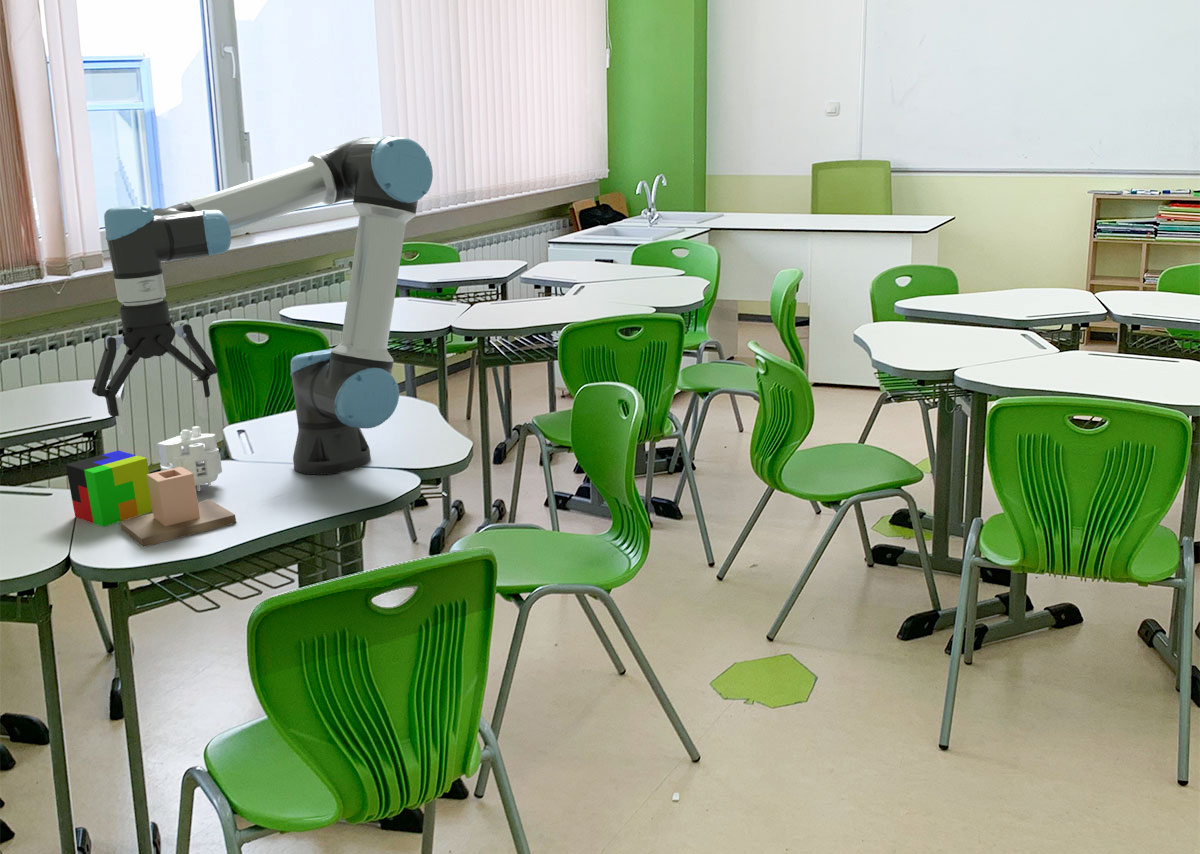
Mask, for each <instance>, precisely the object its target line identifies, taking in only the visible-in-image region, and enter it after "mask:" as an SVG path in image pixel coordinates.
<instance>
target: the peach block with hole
mask: <svg viewBox="0 0 1200 854" xmlns="http://www.w3.org/2000/svg"><path fill="white" fill-rule="evenodd" d="M147 480H148V486H149V492H150V498H151V504H152V510H153V511H152V513H153V516H154V519H156V520H157V521H158V522H160V523H161V524H163V525H164V526H169V525H173V524H177V523H181V522H185V521H189V520H193V519H197V518H200V514H199V507H198V502H199V501H198V495H197V490H196V489H197V488H196V486H195V481H194V475H193V473H191V472H190V471H188V470H186V469H185V468H183V467H177V468H173V469H168V470H164V471H161V470H160V471H156V472H155V471H154V472H152V473H150V472H149V474H147Z"/></svg>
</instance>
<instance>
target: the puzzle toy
mask: <svg viewBox="0 0 1200 854" xmlns="http://www.w3.org/2000/svg"><path fill="white" fill-rule="evenodd" d="M148 462H149V461H148V458H147V457H144V456H140V455H136V454H133V453H129V452H125V451H121V450H115V451H111V452H108V453H103V454H99V455H96V456H92V457H89V458H84V459H80V460H78V461H74V462H70V463H66V464H65V467H66V468H65V469H66V473H67V479H68V486H69V489H70V490H69V491H70V494H71V495H70V497H71V501H72V507H73V512H74V517H75V516H76V517H75V518H77V519H80V520H83V521H86V522H89V523H90V524H91V523H92V524H94V525H96V526H100V527H102V528H103V527H104V528H105V527H109V526H111V525H114V524H116V523H117V524H118V523H120V521H124V520H128V519H132V518H136V517H140V516H144V515H147V514H149V513H153V510H152V504H151V498H150V492H149V486H148V480H147V474H150V470H149V463H148Z"/></svg>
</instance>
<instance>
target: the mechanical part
mask: <svg viewBox="0 0 1200 854" xmlns="http://www.w3.org/2000/svg"><path fill="white" fill-rule="evenodd" d="M156 444H157V449H158V454H159V462H160V471H164V470H168V469H173V468H177V467H183V468H185V469H186V470H188V471H190V472H191V473H193V475H194V481H195V487H197V488H196V489H197V492H198V491H199V492H200V491H201V486H202V485H205V484H207V485H208V486H211V484H212V483H213V482H215V481H217V479H218V477H219V475H220V474H221V473H222V472H223V468H222V460H221V459H222V458H221V455H220V454H221V453H220V449H219V448H218V445H217V444H218V443H217V437H216V434H215V433H202V429H201V426H197V425H196V426H192V427H191V430H190V429H182V430H181V432H179V435H177V436H174V437H171V438H167V439H166V440H163V441H160V442H157V443H156Z"/></svg>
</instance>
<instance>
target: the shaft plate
mask: <svg viewBox="0 0 1200 854" xmlns="http://www.w3.org/2000/svg"><path fill="white" fill-rule="evenodd" d="M198 507H199V514H200V518H197V519H193V520H189V521H185V522H181V523H177V524H173V525H169V526H164V525H163V524H161V523H160V522H158V521H157V520H156V519H154V516H153V512H151V513H150V514H149V513H147V514H143V515H139V516H136V517H133V518H130V519H127V520H124V521H120V522H119V526H120V530H121V531H122V532H123V533H125V535H127V536H128V537H129V538H131V539H132V540H133V541H135V542H136V543H137V544H138V545H139V546H141V547H142V548H145V547H149V546H153V545H157V544H161V543H165V542H168V541H173V540H177V539H179V538H183V537H186V536H190V535H195V534H198V533H203V532H206V531H210V530H214V529H218V528H221V527H226V526H230V525H232V524H233V525H234V524H237V519H236V514H235V513H233V512H231V511H230V510H228V509H227V508H225V507H224V506H223V505H220V504H219V503H217V502H215V501H214V500H212V499H206V500H201V501H198Z"/></svg>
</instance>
